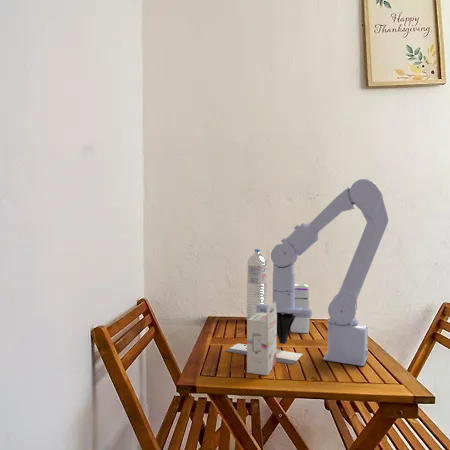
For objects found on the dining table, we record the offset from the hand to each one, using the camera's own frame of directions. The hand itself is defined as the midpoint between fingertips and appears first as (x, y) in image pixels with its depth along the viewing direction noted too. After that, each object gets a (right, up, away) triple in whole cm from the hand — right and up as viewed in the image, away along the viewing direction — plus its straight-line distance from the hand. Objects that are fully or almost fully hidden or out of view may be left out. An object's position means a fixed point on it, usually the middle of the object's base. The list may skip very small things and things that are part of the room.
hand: (283, 342), depth 103 cm
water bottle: (-4, -3, +35) cm, 35 cm away
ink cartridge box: (-7, -2, -13) cm, 15 cm away
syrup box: (+8, -3, +22) cm, 24 cm away
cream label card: (-1, -2, -4) cm, 5 cm away
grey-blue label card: (-10, -2, +1) cm, 10 cm away
